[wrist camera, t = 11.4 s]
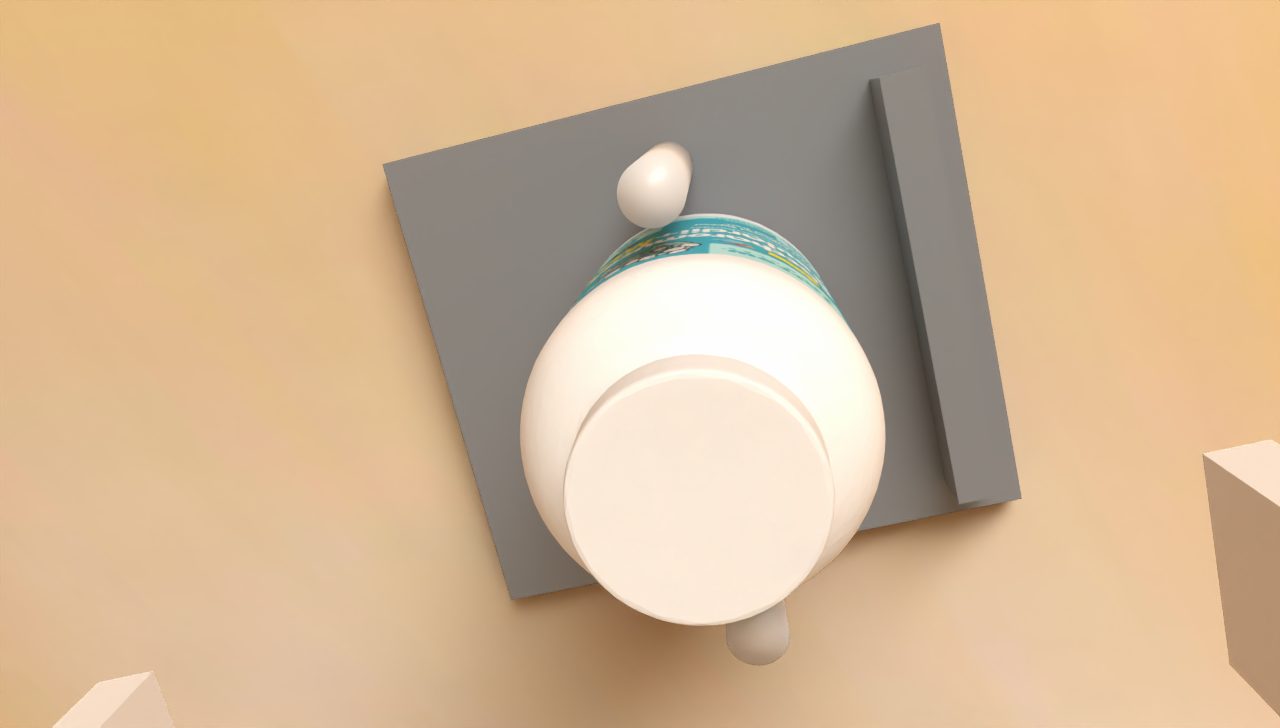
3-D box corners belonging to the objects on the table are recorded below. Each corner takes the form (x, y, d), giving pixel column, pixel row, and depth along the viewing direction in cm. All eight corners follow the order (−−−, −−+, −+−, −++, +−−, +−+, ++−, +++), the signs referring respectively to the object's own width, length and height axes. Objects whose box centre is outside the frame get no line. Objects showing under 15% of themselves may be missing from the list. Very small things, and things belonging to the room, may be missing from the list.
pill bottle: (836, 207, 30) (936, 285, 17) (830, 455, 32) (917, 703, 19) (573, 211, 30) (471, 291, 17) (582, 456, 32) (496, 697, 19)
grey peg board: (516, 586, 34) (441, 776, 25) (392, 162, 31) (250, 189, 22) (1012, 486, 33) (1140, 650, 23) (932, 25, 29) (1040, -12, 20)
